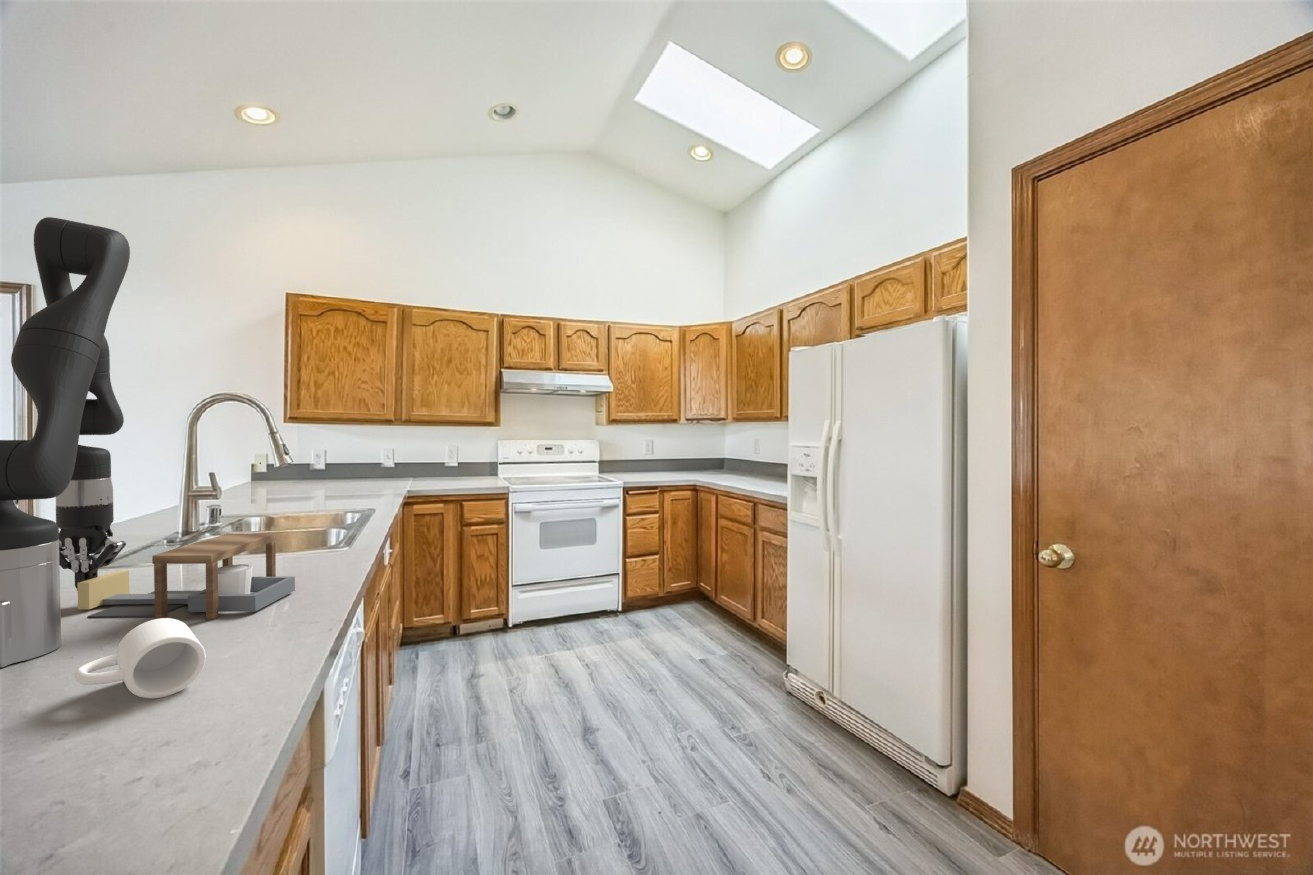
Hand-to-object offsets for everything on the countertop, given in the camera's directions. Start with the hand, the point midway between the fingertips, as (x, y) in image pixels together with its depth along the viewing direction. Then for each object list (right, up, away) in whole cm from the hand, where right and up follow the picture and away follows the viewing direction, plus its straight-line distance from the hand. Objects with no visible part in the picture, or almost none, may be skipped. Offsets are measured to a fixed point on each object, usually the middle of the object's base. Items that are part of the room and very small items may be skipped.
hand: (86, 589), depth 101 cm
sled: (+19, -3, +2) cm, 19 cm away
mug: (+41, -5, -30) cm, 51 cm away
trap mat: (+12, -3, +1) cm, 13 cm away
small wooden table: (+24, -3, +2) cm, 25 cm away
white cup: (+26, -4, +2) cm, 27 cm away
